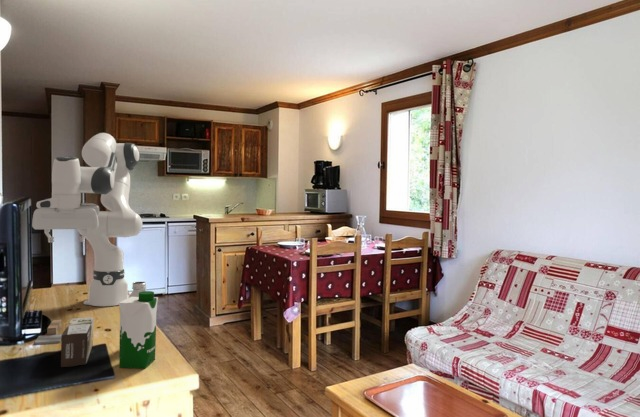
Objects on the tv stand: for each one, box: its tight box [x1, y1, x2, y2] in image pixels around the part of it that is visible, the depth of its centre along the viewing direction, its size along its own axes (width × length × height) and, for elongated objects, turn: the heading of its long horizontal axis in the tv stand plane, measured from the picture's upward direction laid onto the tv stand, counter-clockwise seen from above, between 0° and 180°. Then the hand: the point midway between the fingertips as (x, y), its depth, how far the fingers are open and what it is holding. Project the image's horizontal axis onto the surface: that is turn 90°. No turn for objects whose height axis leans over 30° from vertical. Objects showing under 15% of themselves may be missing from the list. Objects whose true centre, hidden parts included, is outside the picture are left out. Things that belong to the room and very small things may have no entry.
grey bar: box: [33, 319, 63, 346], centre depth 147 cm, size 17×7×3 cm, turn 21°
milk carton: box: [118, 290, 159, 370], centre depth 125 cm, size 9×9×20 cm
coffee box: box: [60, 316, 95, 368], centre depth 130 cm, size 9×6×16 cm
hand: (66, 242), depth 158 cm, fingers open, 8 cm apart
